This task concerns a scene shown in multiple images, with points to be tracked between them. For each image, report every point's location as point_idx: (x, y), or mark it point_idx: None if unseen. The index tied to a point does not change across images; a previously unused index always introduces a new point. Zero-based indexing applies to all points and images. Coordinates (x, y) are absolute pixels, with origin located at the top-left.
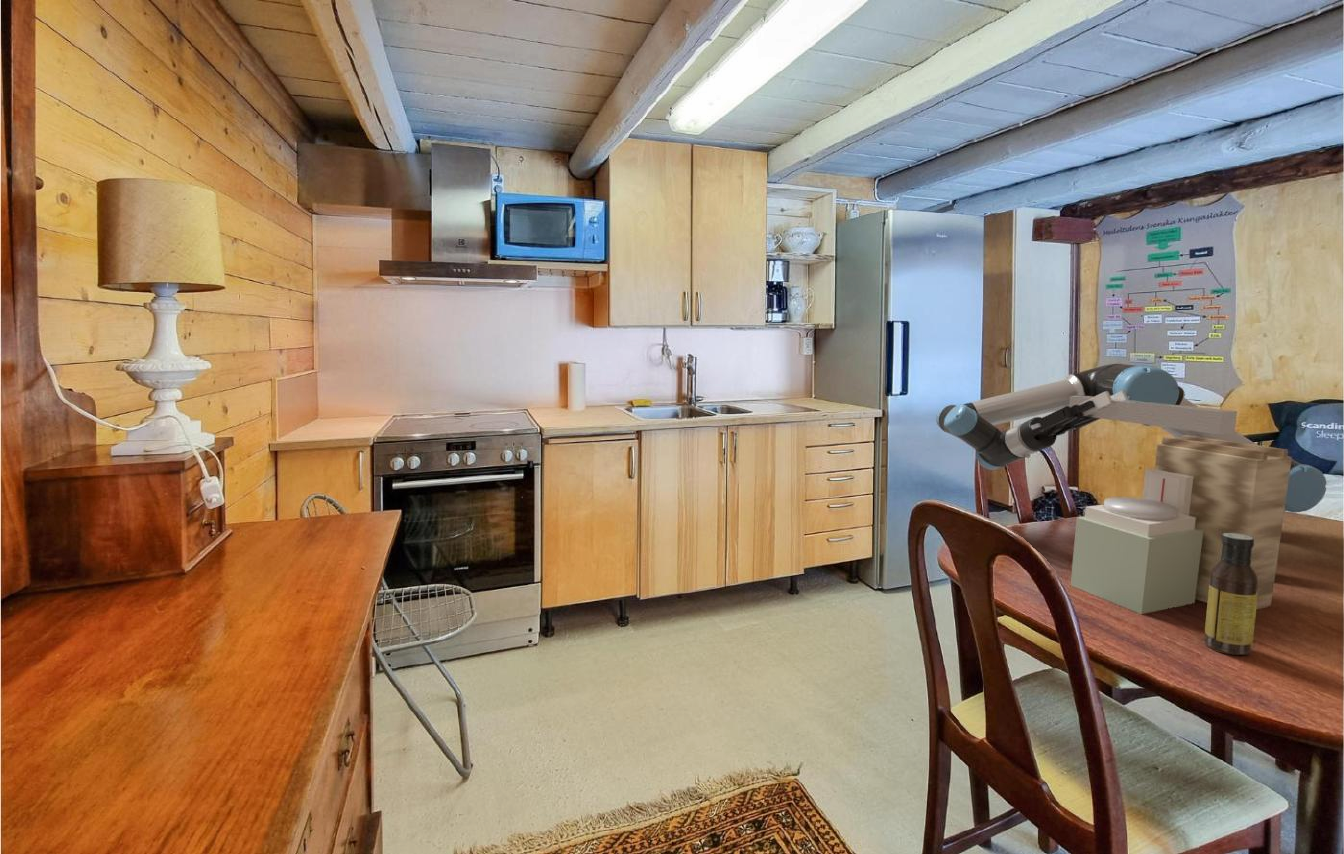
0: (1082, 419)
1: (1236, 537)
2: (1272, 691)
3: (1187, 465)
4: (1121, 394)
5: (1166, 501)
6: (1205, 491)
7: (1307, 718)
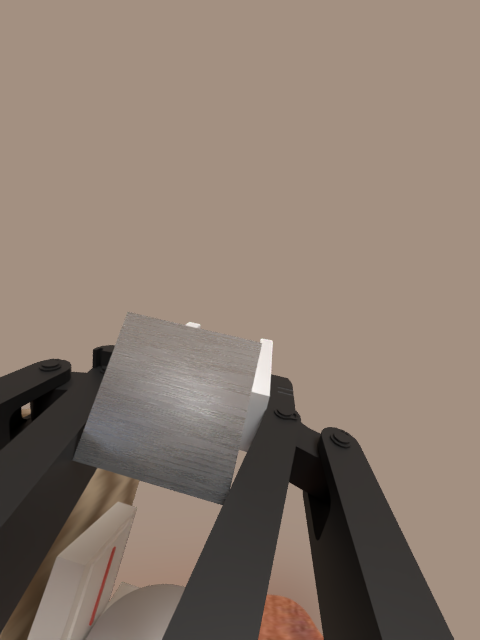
0: (59, 516)
1: None
2: (275, 626)
3: (98, 486)
4: None
5: (98, 608)
6: None
7: (289, 604)
